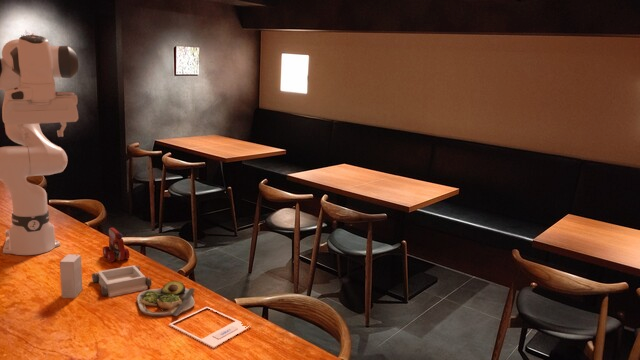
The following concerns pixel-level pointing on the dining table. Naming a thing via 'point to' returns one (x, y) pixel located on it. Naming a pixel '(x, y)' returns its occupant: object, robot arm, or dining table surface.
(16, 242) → the robot arm
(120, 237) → the toy fire truck
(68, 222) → the dining table surface
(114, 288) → the chassis
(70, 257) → the skincare box
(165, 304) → the avocado toast plate
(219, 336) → the photo frame
